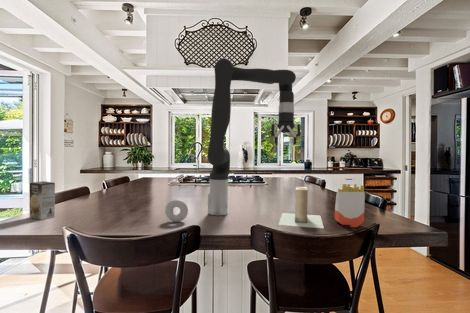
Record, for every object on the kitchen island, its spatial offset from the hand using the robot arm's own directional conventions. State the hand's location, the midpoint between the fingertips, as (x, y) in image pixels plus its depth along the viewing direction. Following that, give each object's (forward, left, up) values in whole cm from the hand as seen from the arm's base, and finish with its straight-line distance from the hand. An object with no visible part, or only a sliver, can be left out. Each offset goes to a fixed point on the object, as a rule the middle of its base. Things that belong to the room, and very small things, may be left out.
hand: (285, 145), depth 136 cm
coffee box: (-107, -39, -35) cm, 119 cm away
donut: (-45, -29, -35) cm, 64 cm away
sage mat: (+8, -14, -35) cm, 38 cm away
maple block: (+8, -9, -26) cm, 29 cm away
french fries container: (+28, -14, -35) cm, 47 cm away
